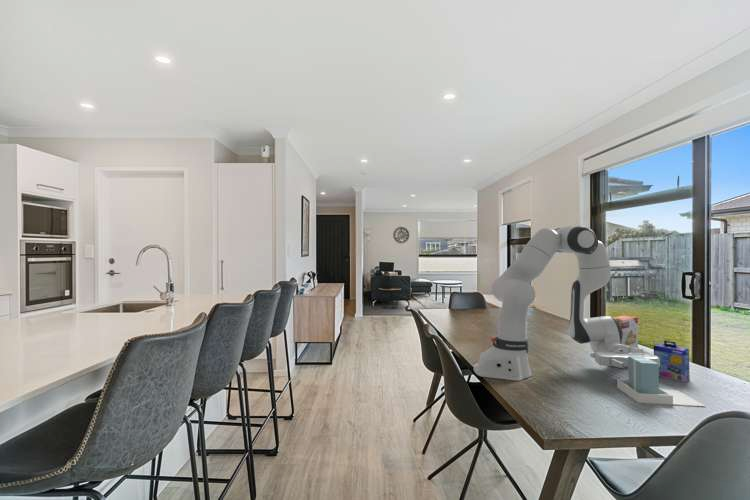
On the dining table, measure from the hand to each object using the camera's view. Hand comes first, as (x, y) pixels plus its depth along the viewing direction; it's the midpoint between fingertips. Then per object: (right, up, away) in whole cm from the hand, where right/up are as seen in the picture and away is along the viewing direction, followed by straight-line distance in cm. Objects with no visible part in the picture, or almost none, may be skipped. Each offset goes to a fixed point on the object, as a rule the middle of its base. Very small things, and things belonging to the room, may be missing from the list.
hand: (637, 366), depth 120 cm
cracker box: (+16, -10, +29) cm, 35 cm away
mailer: (+4, -9, -4) cm, 11 cm away
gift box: (-1, -9, -3) cm, 9 cm away
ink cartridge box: (+24, -9, +14) cm, 29 cm away
